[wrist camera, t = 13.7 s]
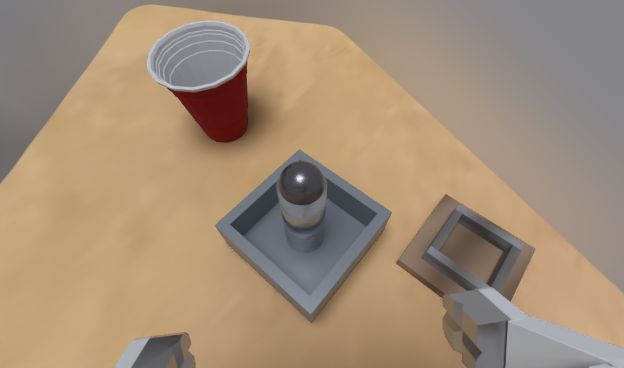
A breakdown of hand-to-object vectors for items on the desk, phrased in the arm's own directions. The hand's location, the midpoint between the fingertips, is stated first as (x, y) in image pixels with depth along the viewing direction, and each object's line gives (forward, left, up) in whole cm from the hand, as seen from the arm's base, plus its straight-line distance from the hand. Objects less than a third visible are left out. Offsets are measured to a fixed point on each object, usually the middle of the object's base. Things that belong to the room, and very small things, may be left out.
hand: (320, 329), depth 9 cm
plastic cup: (+27, -13, -20) cm, 36 cm away
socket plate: (-6, -17, -20) cm, 27 cm away
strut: (+8, -8, -19) cm, 22 cm away
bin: (+8, -8, -20) cm, 23 cm away
